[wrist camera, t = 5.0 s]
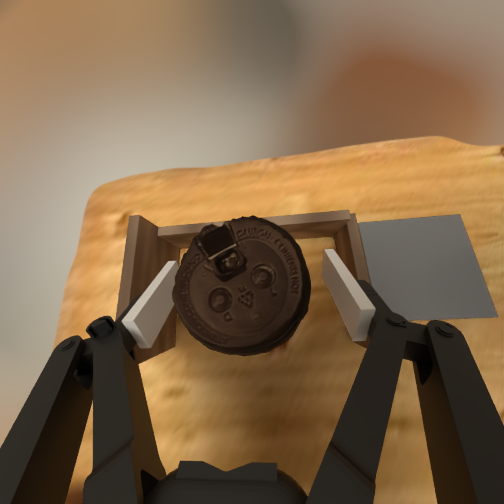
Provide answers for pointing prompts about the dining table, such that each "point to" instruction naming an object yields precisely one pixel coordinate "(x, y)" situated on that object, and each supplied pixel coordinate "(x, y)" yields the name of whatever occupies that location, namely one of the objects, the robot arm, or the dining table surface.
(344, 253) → the u-shaped wooden frame
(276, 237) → the coffee cup
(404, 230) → the slate pad
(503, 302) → the dining table surface
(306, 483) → the dining table surface
